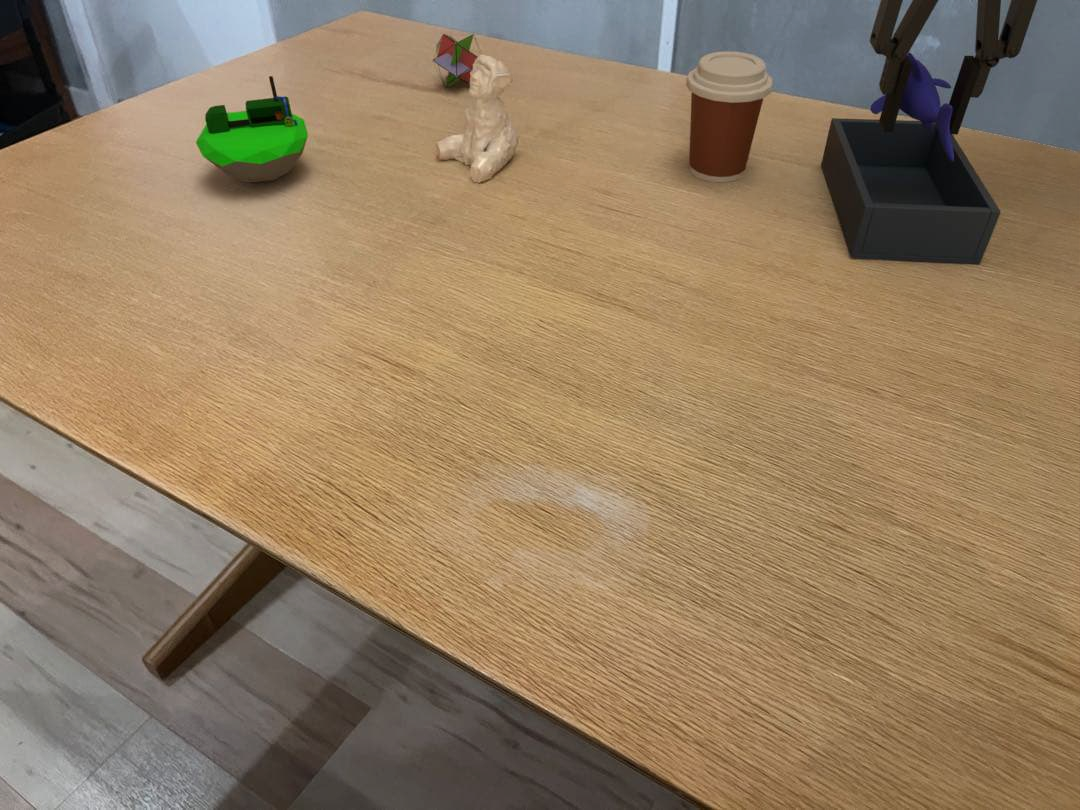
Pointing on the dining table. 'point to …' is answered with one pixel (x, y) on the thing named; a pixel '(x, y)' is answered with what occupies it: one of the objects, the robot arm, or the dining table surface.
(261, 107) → the miniature floating island
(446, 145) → the seated clay statuette
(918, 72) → the fish toy
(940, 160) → the bin
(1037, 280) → the dining table surface
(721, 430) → the dining table surface
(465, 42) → the geometric puzzle
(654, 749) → the dining table surface
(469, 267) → the dining table surface
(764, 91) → the coffee cup
